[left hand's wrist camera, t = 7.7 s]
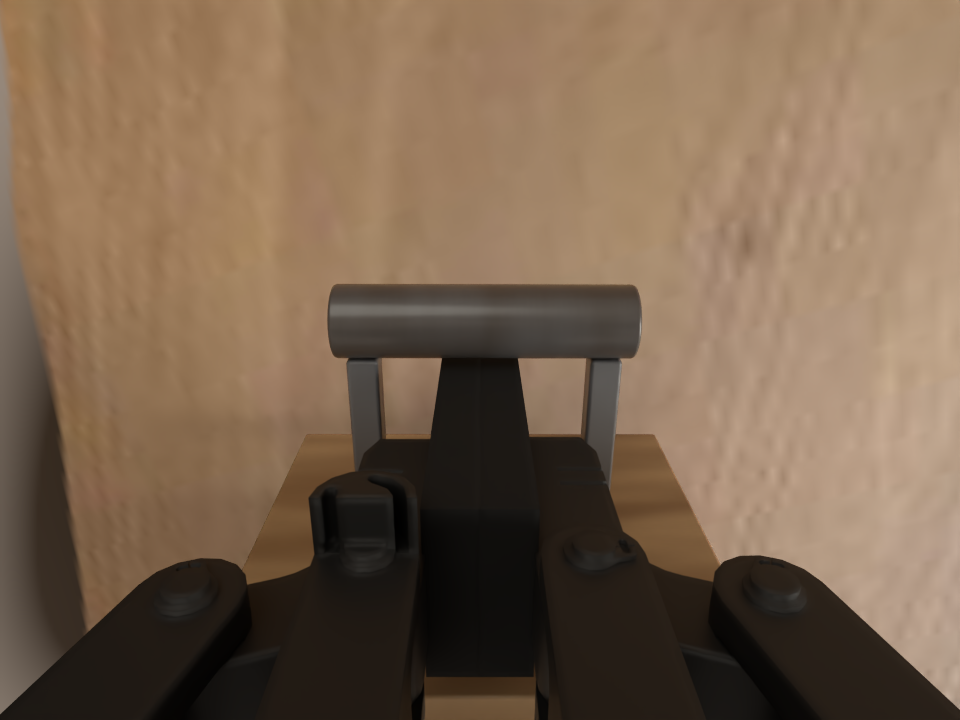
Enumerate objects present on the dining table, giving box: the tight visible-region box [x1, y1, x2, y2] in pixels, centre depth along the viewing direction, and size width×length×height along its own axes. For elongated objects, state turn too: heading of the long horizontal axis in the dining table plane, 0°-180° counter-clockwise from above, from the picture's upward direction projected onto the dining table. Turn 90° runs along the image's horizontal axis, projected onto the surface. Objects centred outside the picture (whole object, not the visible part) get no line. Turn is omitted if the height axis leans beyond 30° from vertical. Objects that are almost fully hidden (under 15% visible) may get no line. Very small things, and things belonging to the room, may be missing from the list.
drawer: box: [242, 284, 720, 720], centre depth 17 cm, size 21×10×9 cm, turn 0°
